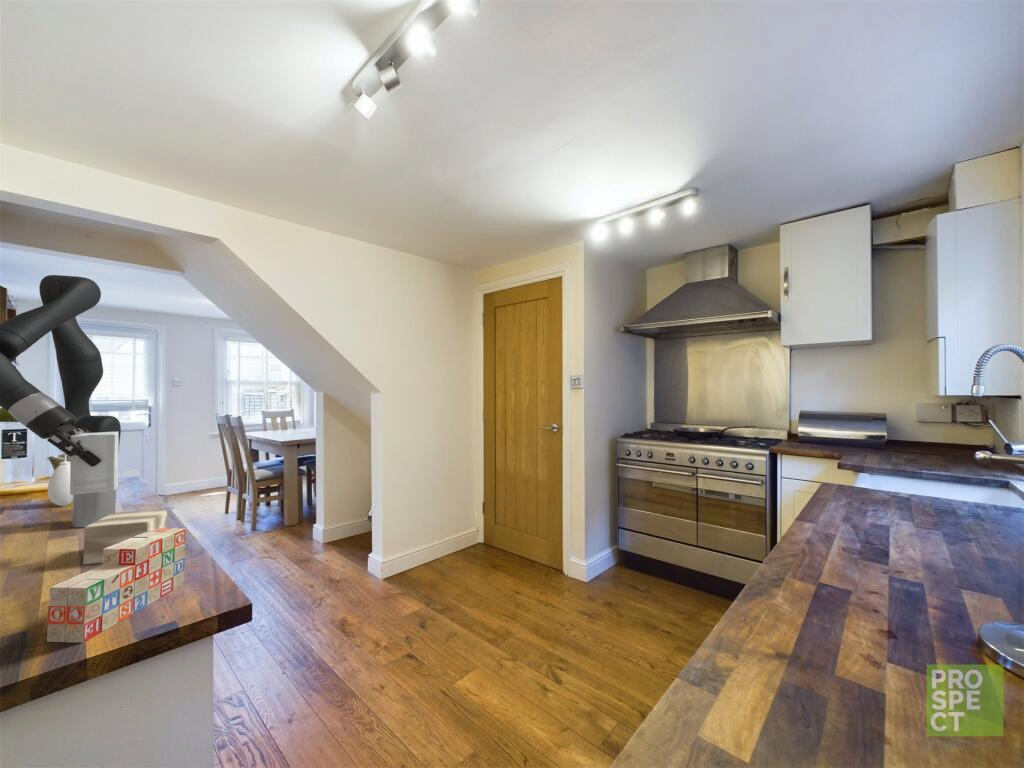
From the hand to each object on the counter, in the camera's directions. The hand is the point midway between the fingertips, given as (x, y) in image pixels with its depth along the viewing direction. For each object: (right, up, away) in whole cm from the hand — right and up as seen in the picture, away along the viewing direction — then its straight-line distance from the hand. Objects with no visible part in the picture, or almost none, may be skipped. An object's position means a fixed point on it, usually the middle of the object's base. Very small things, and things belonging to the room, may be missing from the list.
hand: (103, 461), depth 106 cm
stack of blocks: (+30, -24, -27) cm, 47 cm away
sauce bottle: (-54, -23, +40) cm, 71 cm away
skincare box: (-2, -8, -1) cm, 8 cm away
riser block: (+6, -24, +1) cm, 24 cm away
